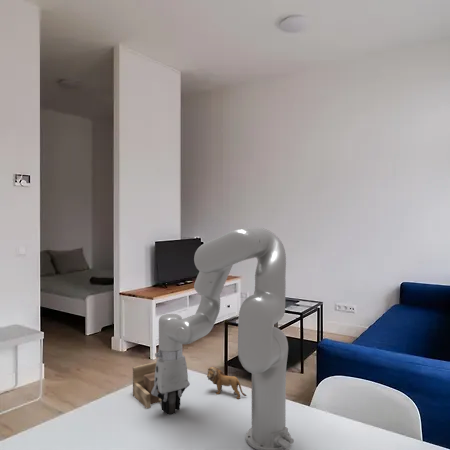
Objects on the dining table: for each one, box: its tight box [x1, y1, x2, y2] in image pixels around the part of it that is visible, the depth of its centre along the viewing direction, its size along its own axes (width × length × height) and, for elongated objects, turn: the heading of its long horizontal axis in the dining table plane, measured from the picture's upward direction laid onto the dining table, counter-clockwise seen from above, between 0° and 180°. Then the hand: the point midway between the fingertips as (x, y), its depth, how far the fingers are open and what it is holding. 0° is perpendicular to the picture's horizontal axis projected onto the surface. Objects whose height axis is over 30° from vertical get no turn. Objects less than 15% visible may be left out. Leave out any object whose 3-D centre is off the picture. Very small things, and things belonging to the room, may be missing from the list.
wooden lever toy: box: [144, 372, 177, 416], centre depth 134 cm, size 16×6×8 cm, turn 35°
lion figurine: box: [206, 366, 248, 400], centre depth 142 cm, size 15×5×9 cm, turn 70°
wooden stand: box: [132, 361, 157, 409], centre depth 139 cm, size 12×10×10 cm
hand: (170, 409), depth 129 cm, fingers closed on wooden lever toy, 3 cm apart
